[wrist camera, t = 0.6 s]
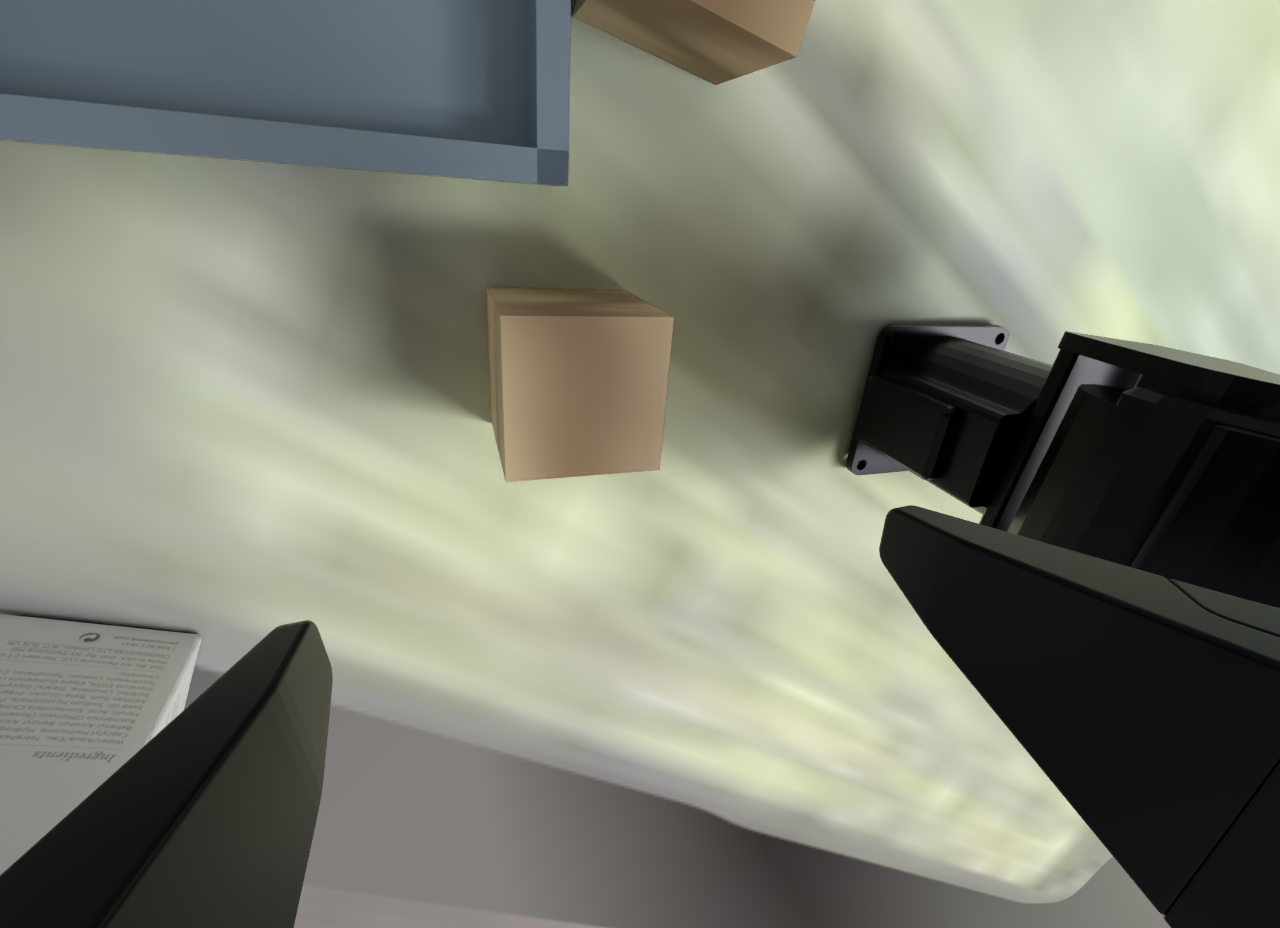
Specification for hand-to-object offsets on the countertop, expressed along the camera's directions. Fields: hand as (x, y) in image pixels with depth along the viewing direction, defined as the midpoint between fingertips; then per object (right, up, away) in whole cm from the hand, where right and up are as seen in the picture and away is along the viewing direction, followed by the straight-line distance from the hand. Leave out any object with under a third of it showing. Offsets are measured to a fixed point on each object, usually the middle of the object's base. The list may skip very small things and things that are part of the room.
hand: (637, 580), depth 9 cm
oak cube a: (-3, +5, +10) cm, 12 cm away
